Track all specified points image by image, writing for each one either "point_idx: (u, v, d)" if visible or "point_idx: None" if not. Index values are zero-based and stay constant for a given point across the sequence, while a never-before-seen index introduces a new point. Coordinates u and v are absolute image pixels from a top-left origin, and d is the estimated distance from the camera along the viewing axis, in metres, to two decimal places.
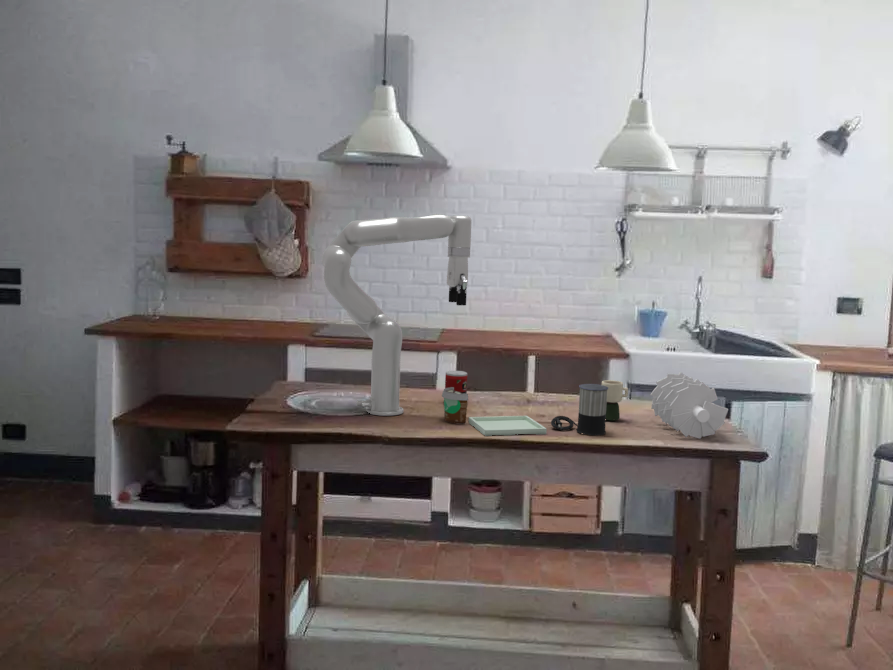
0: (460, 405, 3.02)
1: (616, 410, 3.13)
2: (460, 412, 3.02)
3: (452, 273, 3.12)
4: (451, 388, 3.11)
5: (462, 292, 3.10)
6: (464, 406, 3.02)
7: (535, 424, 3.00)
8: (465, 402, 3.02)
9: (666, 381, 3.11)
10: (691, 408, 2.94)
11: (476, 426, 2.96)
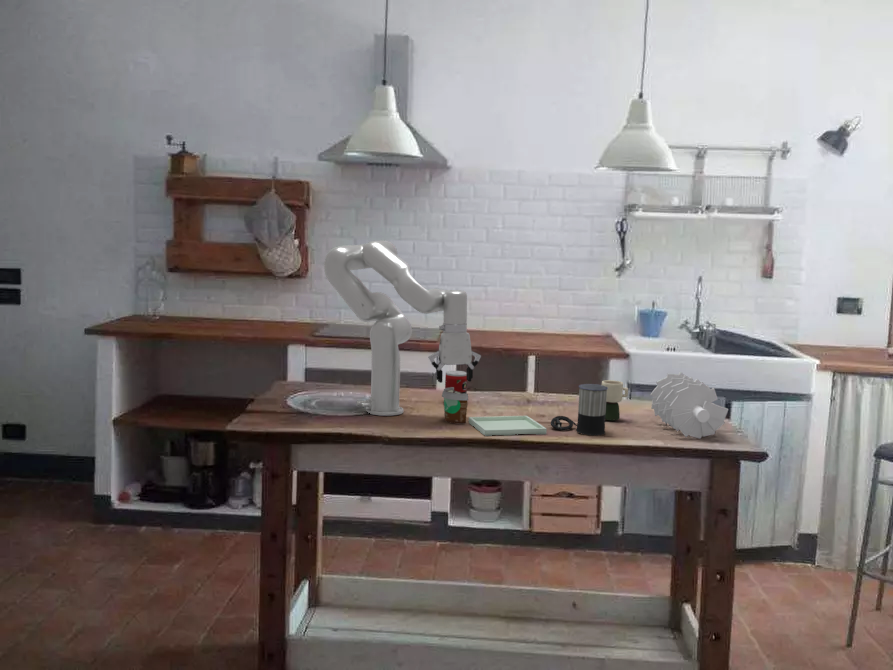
0: (460, 405, 3.02)
1: (616, 410, 3.13)
2: (460, 412, 3.02)
3: (465, 350, 3.01)
4: (451, 388, 3.11)
5: None
6: (464, 406, 3.02)
7: (535, 424, 3.00)
8: (465, 402, 3.02)
9: (666, 381, 3.11)
10: (691, 408, 2.94)
11: (476, 426, 2.96)
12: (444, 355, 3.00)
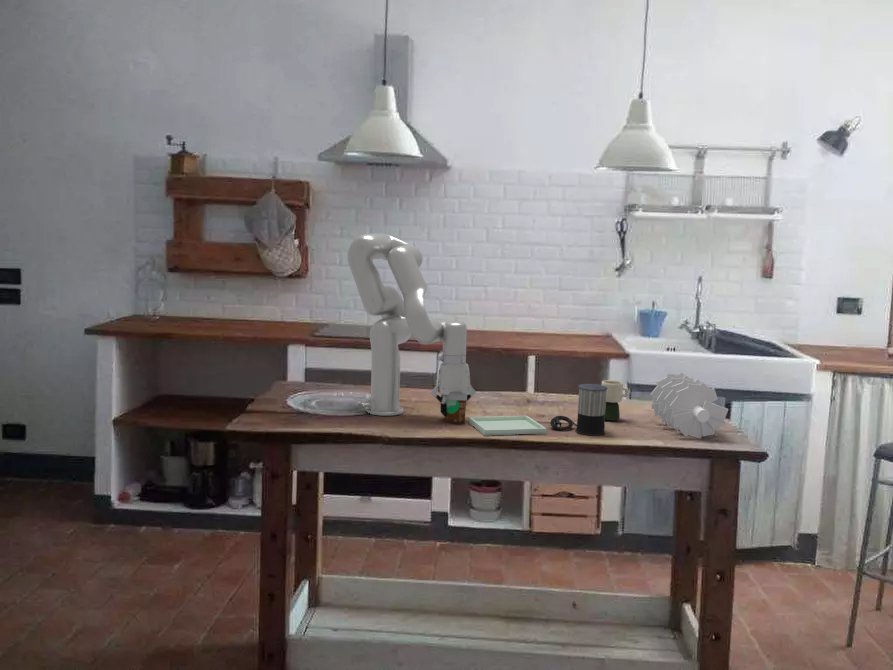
0: (459, 405, 3.01)
1: (616, 410, 3.13)
2: (459, 412, 3.02)
3: (463, 381, 3.02)
4: None
5: None
6: (462, 406, 3.01)
7: (535, 424, 3.00)
8: (464, 402, 3.01)
9: (666, 381, 3.11)
10: (691, 408, 2.94)
11: (476, 426, 2.96)
12: (443, 386, 3.01)
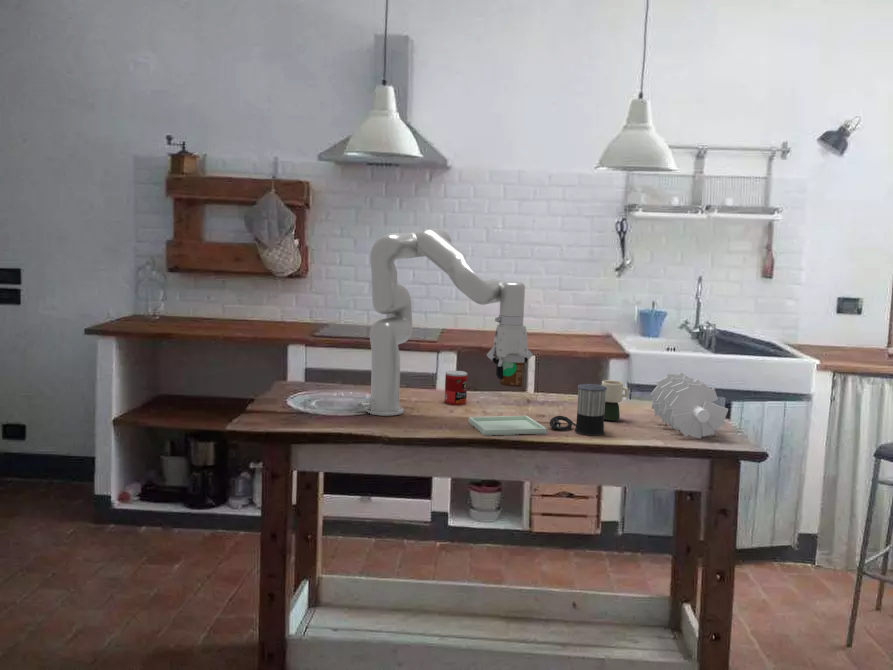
0: (516, 367, 2.92)
1: (616, 410, 3.13)
2: (516, 375, 2.92)
3: (521, 343, 2.93)
4: None
5: None
6: (520, 368, 2.92)
7: (535, 424, 3.00)
8: (521, 364, 2.92)
9: (666, 381, 3.11)
10: (691, 408, 2.94)
11: (476, 426, 2.96)
12: (500, 348, 2.92)
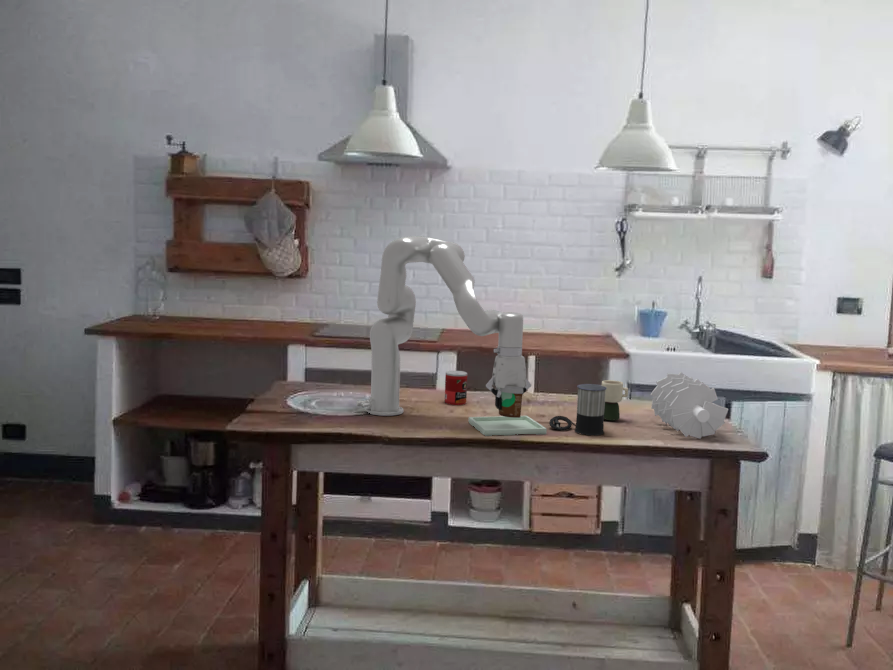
0: (515, 398, 2.93)
1: (616, 410, 3.13)
2: (515, 406, 2.94)
3: (519, 374, 2.94)
4: None
5: None
6: (518, 399, 2.93)
7: (535, 424, 3.00)
8: (520, 395, 2.93)
9: (666, 381, 3.11)
10: (691, 408, 2.94)
11: (476, 426, 2.96)
12: (499, 379, 2.93)
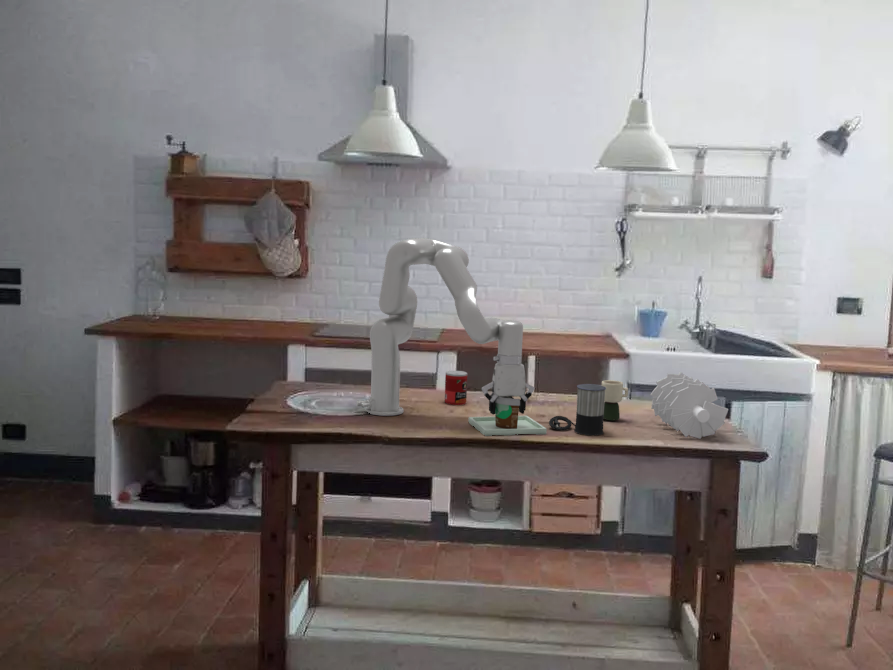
0: (511, 410, 2.94)
1: (616, 410, 3.13)
2: (511, 417, 2.94)
3: (519, 382, 2.95)
4: None
5: None
6: (515, 411, 2.94)
7: (535, 424, 3.00)
8: (517, 407, 2.93)
9: (666, 381, 3.11)
10: (691, 408, 2.94)
11: (476, 426, 2.96)
12: (498, 387, 2.93)
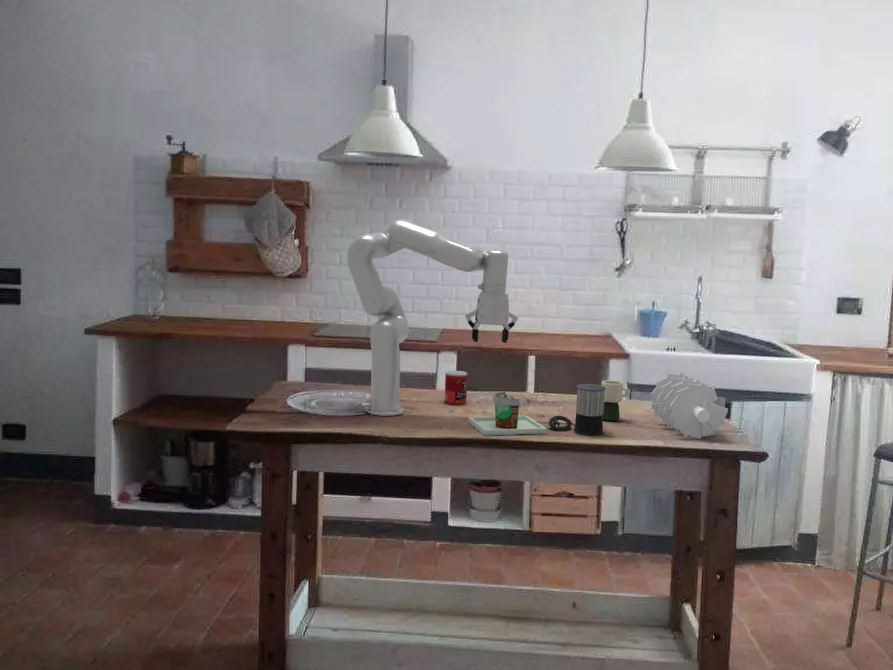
0: (511, 410, 2.94)
1: (616, 410, 3.13)
2: (511, 417, 2.94)
3: (502, 311, 2.99)
4: (503, 393, 3.03)
5: None
6: (515, 411, 2.94)
7: (535, 424, 3.00)
8: (516, 407, 2.93)
9: (666, 381, 3.11)
10: (691, 408, 2.94)
11: (476, 426, 2.96)
12: (481, 314, 2.98)
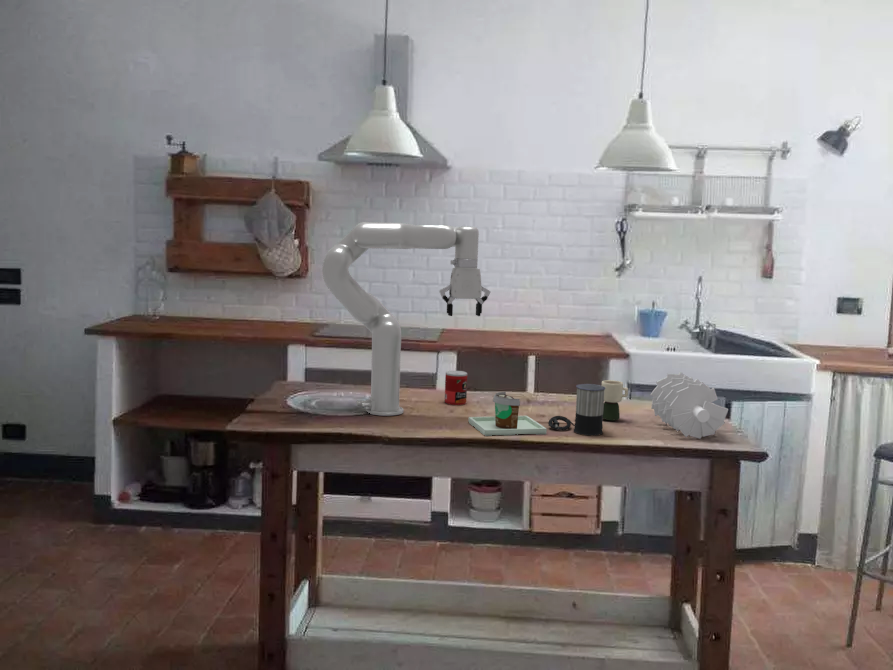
0: (511, 410, 2.94)
1: (616, 410, 3.13)
2: (511, 417, 2.94)
3: (475, 285, 3.10)
4: (503, 393, 3.03)
5: None
6: (515, 411, 2.94)
7: (535, 424, 3.00)
8: (516, 407, 2.93)
9: (666, 381, 3.11)
10: (691, 408, 2.94)
11: (476, 426, 2.96)
12: (455, 289, 3.08)
